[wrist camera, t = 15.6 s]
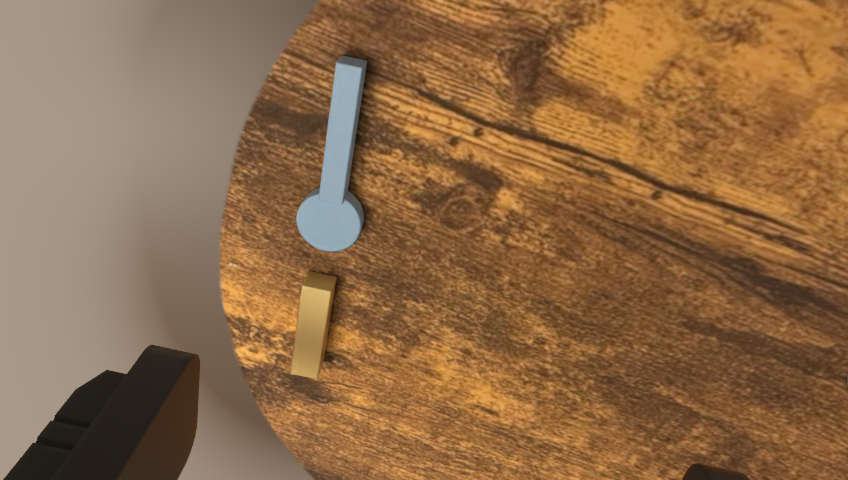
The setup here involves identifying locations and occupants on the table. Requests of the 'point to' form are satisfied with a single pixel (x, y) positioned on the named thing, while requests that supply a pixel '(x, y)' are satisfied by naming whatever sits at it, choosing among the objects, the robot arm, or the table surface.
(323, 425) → the table surface
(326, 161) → the spoon
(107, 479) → the robot arm
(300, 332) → the fry stick
